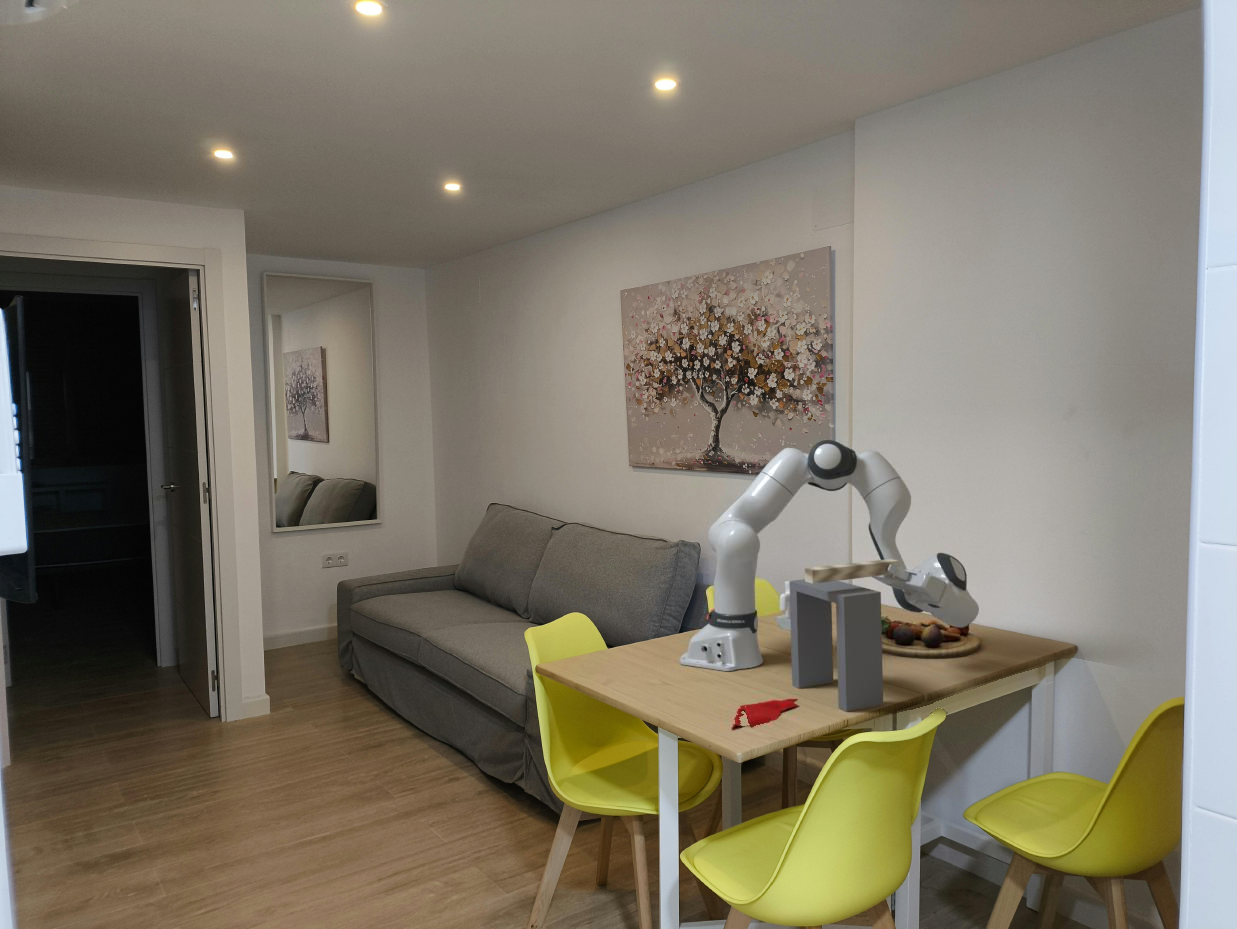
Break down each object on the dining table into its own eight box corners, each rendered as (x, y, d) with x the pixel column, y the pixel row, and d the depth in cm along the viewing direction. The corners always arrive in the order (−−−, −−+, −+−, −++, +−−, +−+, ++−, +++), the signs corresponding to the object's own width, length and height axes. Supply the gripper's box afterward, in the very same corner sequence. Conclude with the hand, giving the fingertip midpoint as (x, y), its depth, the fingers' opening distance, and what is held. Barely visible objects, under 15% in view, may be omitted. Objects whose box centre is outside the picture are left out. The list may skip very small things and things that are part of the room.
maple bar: (812, 583, 193) (812, 570, 192) (805, 581, 195) (804, 568, 195) (899, 573, 201) (899, 560, 201) (890, 571, 204) (890, 558, 204)
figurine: (772, 629, 268) (771, 582, 268) (789, 624, 275) (788, 577, 274) (792, 633, 263) (791, 584, 262) (809, 627, 270) (807, 580, 269)
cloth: (782, 696, 206) (782, 687, 206) (826, 711, 195) (825, 701, 195) (698, 720, 191) (698, 710, 191) (740, 738, 180) (740, 727, 180)
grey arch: (846, 711, 192) (843, 596, 190) (792, 685, 212) (789, 581, 211) (883, 705, 195) (880, 592, 194) (826, 679, 216) (823, 577, 214)
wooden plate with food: (961, 630, 260) (960, 603, 260) (997, 660, 229) (996, 629, 228) (853, 632, 264) (853, 605, 263) (874, 661, 232) (873, 630, 231)
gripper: (899, 571, 216) (859, 548, 211) (958, 584, 197) (916, 559, 192) (889, 594, 215) (849, 571, 210) (948, 609, 196) (905, 584, 191)
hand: (881, 565), depth 201 cm, fingers closed on maple bar, 3 cm apart
